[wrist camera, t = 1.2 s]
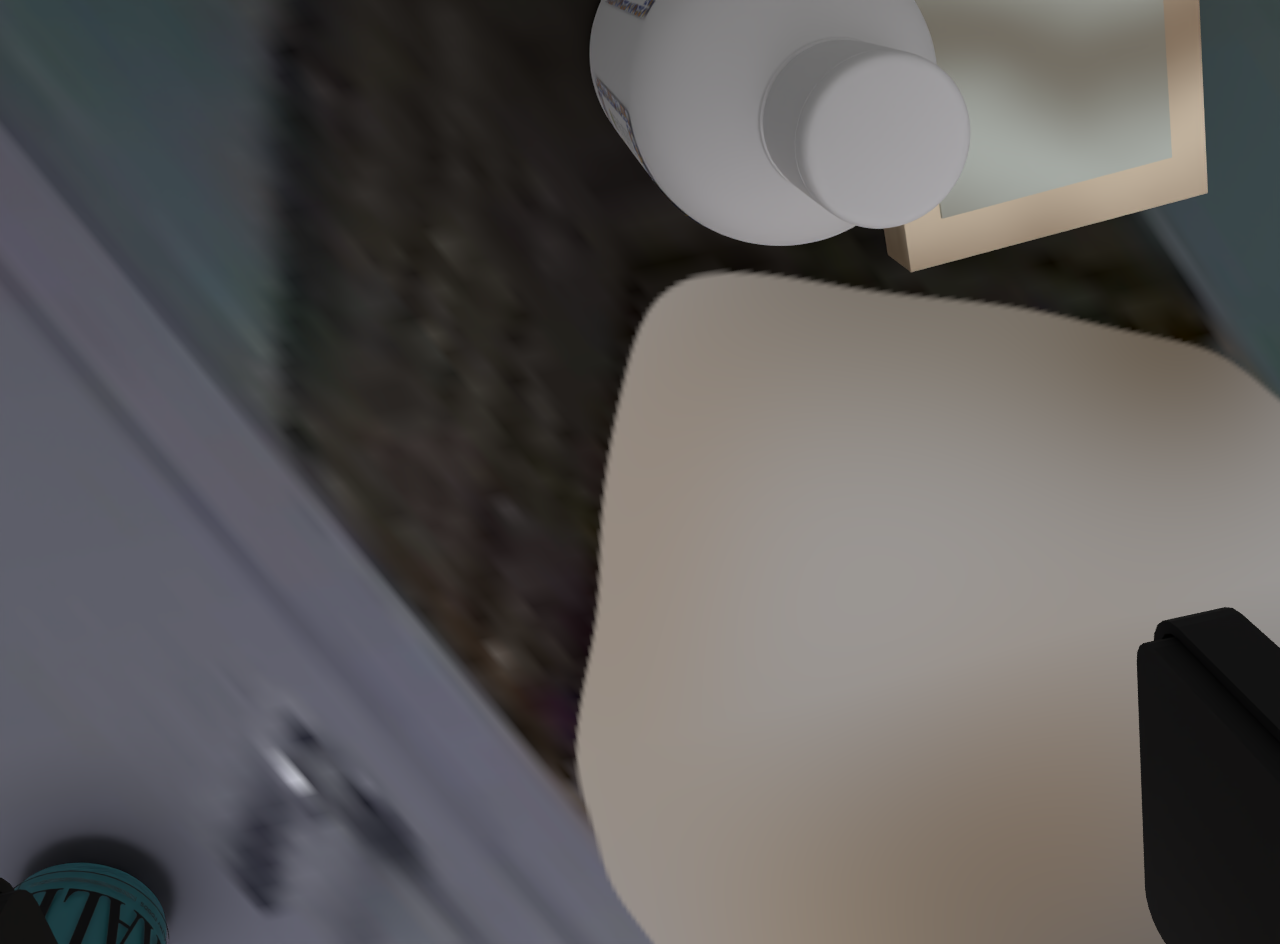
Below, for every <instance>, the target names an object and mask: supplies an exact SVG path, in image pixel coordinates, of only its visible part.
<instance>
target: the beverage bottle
mask: <svg viewBox="0 0 1280 944" xmlns="http://www.w3.org/2000/svg"><path fill="white" fill-rule="evenodd" d="M14 888H15V887H14ZM14 888H13V889H14ZM19 889H21V890H27V891H28V892H30V893H31V894H32V895H33V896H34V898H35V899H36V901H37V902H38V904H39V906H40V908H41V910H42V912H43V914H44V916H45V918H46V920H47V922H48V924H49V926H50V928H51V930H52V932H53V934H54V936H55V938H56V940H57V942H58V944H166V934H167V932H166V927H167V924H166V920H165V914H164V911H163V908H162V906H161V904H160V902H159V901H158V899H157V898H156V896H155V895H154V894H153V893H152V892H151V890H150V889H149V888H148V887H146V886H145V885H144V884H143V883H142V882H140V881H139V880H137V879H136V878H135V877H133V876H131V875H129V874H127V873H125V872H123V871H121V870H118V869H115V868H112V867H109V866H105V865H100V864H93V863H67V864H61V865H56V866H52V867H49V868H46V869H43V870H41V871H39V872H37V873H35V874H33V875H32V876H30V877H29V878H27V879H26V880H25V881H23V882H22V883H21V884H19V885H17V886H16V888H15V889H14V890H19ZM167 930H168V928H167ZM168 937H169V931H168Z"/></svg>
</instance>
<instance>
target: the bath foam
mask: <svg viewBox="0 0 1280 944" xmlns="http://www.w3.org/2000/svg"><path fill="white" fill-rule="evenodd" d="M590 68H591V75H592V80H593V84H594V88H595V91H596V94H597V97H598V99H599V102H600V104H601V106H602V108H603V110H604V112H605V114H606V116H607V117H608V119H609V120H610V122H611V123H612V125H613V127H614V128H615V130H616V131H617V132H618V134H619V135H620V137H621V138H622V139H623V141H624V142H625V143H626V145H627V146H628V147H629V149H630V150H631V151H632V153H633V154H634V155H635V157H636V158H637V159H638V161H639V162H640V163H641V165H642V166H643V167H644V169H645V170H646V171H647V173H648V174H649V175H650V177H651V178H652V179H653V181H654V182H655V183H656V185H657V186H658V187H659V189H660V190H661V191H662V192H663V194H664V195H665V196H666V197H667V198H668V199H669V200H670V201H671V202H672V203H673V204H674V205H675V206H676V207H677V208H678V209H680V210H681V211H682V212H683V213H684V214H686V215H687V216H689V217H690V218H691V219H693V220H694V221H696V222H698V223H699V224H701V225H703V226H705V227H707V228H709V229H711V230H713V231H716V232H718V233H720V234H722V235H725V236H728V237H731V238H734V239H737V240H740V241H744V242H749V243H754V244H761V245H772V246H788V245H799V244H805V243H811V242H816V241H820V240H823V239H827V238H830V237H832V236H835V235H838V234H840V233H842V232H845V231H847V230H849V229H851V228H853V227H854V226H860V227H865V228H874V229H883V228H892V227H897V226H901V225H904V224H907V223H909V222H912V221H914V220H916V219H918V218H920V217H922V216H924V215H925V214H927V213H928V212H930V211H931V210H932V209H934V208H935V207H936V206H937V205H938V204H939V203H940V202H941V201H942V200H943V199H944V198H945V197H946V196H947V195H948V194H949V192H950V191H951V190H952V188H953V187H954V185H955V184H956V182H957V181H958V179H959V177H960V175H961V173H962V171H963V168H964V166H965V163H966V160H967V156H968V152H969V146H970V120H969V115H968V110H967V107H966V104H965V101H964V98H963V96H962V94H961V92H960V90H959V88H958V87H957V85H956V84H955V82H954V81H953V80H952V79H951V77H950V76H949V75H948V74H947V73H946V72H945V71H944V70H942V69H941V68H940V67H939V66H937V63H936V56H935V51H934V46H933V42H932V38H931V35H930V32H929V29H928V27H927V24H926V22H925V20H924V17H923V15H922V13H921V11H920V9H919V7H918V6H917V4H916V2H915V0H601V2H600V4H599V7H598V9H597V12H596V15H595V18H594V22H593V26H592V31H591V38H590Z"/></svg>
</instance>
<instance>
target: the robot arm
mask: <svg viewBox="0 0 1280 944" xmlns="http://www.w3.org/2000/svg"><path fill="white" fill-rule="evenodd" d="M1137 678H1138V706H1139V731H1140V732H1139V733H1140V758H1141V759H1140V760H1141V787H1142V813H1143V814H1142V815H1143V842H1144V869H1145V891H1146V898H1147V902H1148V907H1149V910H1150V913H1151V915H1152V919H1153V921H1154V923H1155V926H1156V928H1157V930H1158V932H1159V933H1160V935H1161V937H1162V939H1163V940H1164V942H1165V943H1166V944H1280V648H1279V647H1278V646H1277V645H1276V644H1275V643H1274V642H1272V641H1271V640H1270V639H1269V638H1268V637H1267V636H1266V635H1265V634H1264V633H1262V632H1261V631H1260V630H1259V629H1258V628H1257V627H1256V626H1255V625H1253V624H1252V623H1251V622H1250V621H1249V620H1248V619H1247V618H1246V617H1245V616H1243V615H1242V614H1241V613H1240V612H1238V611H1236V610H1235V609H1233V608H1226V607H1224V608H1219V609H1215V610H1210V611H1206V612H1201V613H1197V614H1192V615H1187V616H1183V617H1178V618H1174V619H1170V620H1165V621H1162V622H1161V623H1159V624H1158V625H1157V628H1156V631H1155V633H1154V641H1151V642H1147V643H1143V644H1142V645H1140V647H1139V649H1138V652H1137ZM0 944H58V942H57V940H56V938H55V936H54V934H53V932H52V930H51V928H50V926H49V924H48V922H47V920H46V918H45V916H44V914H43V912H42V910H41V908H40V906H39V904H38V902H37V901H36V899H35V898H34V896H33V895H32V894H31V893H30V892H28V891H27V890H21V889H19V890H14V889H13V887H12V886H11V885H10V883H8V882H7V881H5V880H4V879H3V878H0Z"/></svg>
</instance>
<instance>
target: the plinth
mask: <svg viewBox="0 0 1280 944" xmlns="http://www.w3.org/2000/svg"><path fill="white" fill-rule="evenodd" d="M915 2H916V4H917V6H918V7H919V9H920V11H921V13H922V15H923V17H924V20H925V22H926V24H927V27H928V29H929V32H930V35H931V38H932V42H933V46H934V51H935V56H936V63H937V66H939V67H940V68H941V69H942V70H944V71H945V72H946V73H947V74H948V75H949V76H950V77H951V79H952V80H953V81H954V82H955V84H956V85H957V87H958V88H959V90H960V92H961V94H962V96H963V98H964V101H965V104H966V107H967V110H968V115H969V120H970V146H969V152H968V156H967V160H966V163H965V166H964V168H963V171H962V173H961V175H960V177H959V179H958V181H957V182H956V184H955V185H954V187H953V188H952V190H951V191H950V192H949V194H948V195H947V196H946V197H945V198H944V199H943V200H942V201H941V202H940V203H939V204H938V205H937V206H936V207H935V208H934V209H932V210H931V211H930V212H928V213H927V214H925V215H924V216H922V217H920V218H918V219H916V220H914V221H912V222H909V223H907V224H904V225H901V226H897V227H892V228H884V233H885V239H886V246H887V252H888V255H889V256H890V257H892V258H893V259H894V260H896V261H897V262H898V263H900V264H901V265H902V266H904V267H905V268H906V269H908V270H909V271H910V272H914V271H917V270H921V269H925V268H929V267H932V266H936V265H940V264H944V263H947V262H951V261H955V260H959V259H962V258H966V257H970V256H974V255H977V254H981V253H985V252H989V251H992V250H996V249H1000V248H1004V247H1007V246H1011V245H1015V244H1019V243H1022V242H1026V241H1030V240H1034V239H1037V238H1041V237H1045V236H1049V235H1052V234H1056V233H1060V232H1064V231H1067V230H1071V229H1075V228H1078V227H1082V226H1086V225H1090V224H1093V223H1097V222H1101V221H1105V220H1108V219H1112V218H1116V217H1120V216H1123V215H1127V214H1131V213H1135V212H1138V211H1142V210H1146V209H1150V208H1153V207H1157V206H1161V205H1165V204H1168V203H1172V202H1176V201H1180V200H1183V199H1187V198H1191V197H1195V196H1198V195H1202V194H1206V193H1208V188H1207V165H1206V143H1205V121H1204V99H1203V76H1202V54H1201V32H1200V9H1199V0H915Z"/></svg>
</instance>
